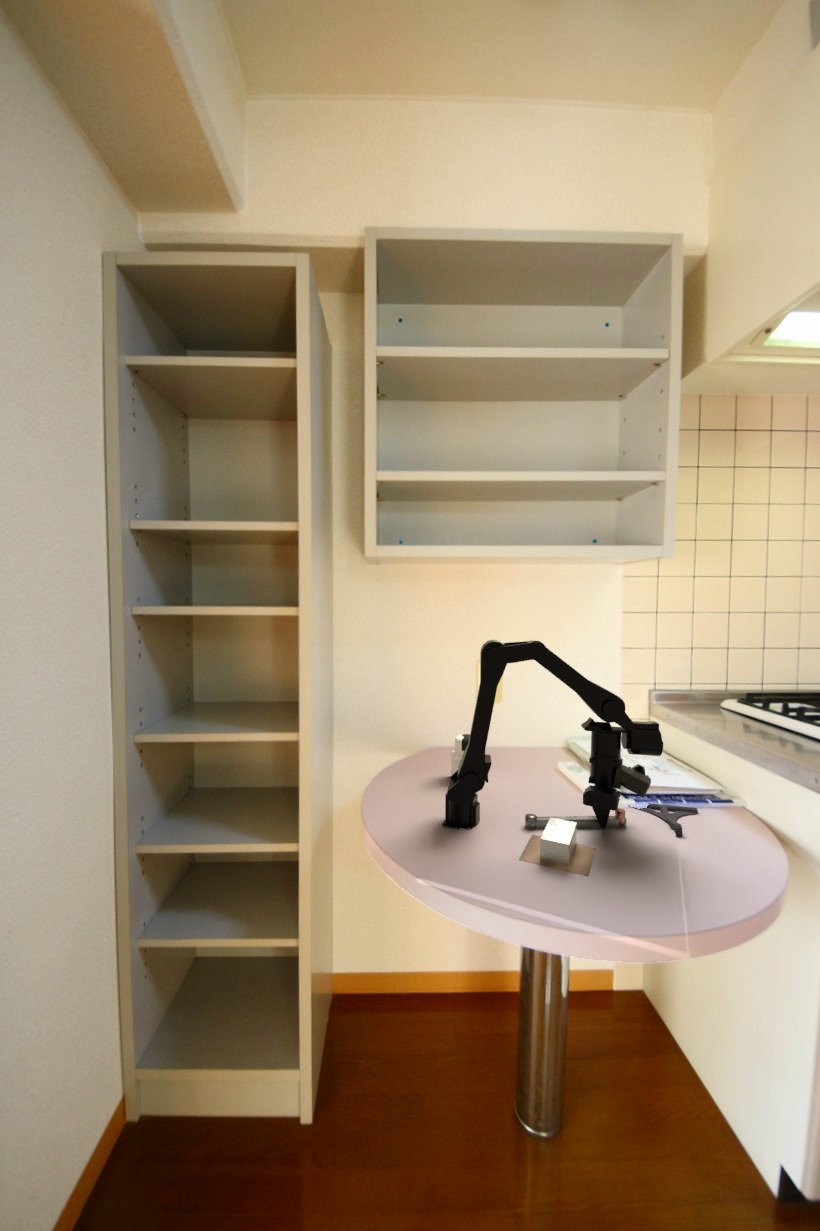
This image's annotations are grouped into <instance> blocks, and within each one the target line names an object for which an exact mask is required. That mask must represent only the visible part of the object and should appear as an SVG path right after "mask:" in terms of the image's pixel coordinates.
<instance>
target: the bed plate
mask: <svg viewBox="0 0 820 1231" xmlns="http://www.w3.org/2000/svg"><path fill="white" fill-rule="evenodd" d="M541 836H542V835H541ZM541 836H540V835H536V834H531V836H530V838H529V840H528V841H527V843H526V845H525V847H524V849H523V850H522V852H521V854H520V856H519V858H518V860H519V861H521V862H522V861H523V862H527V863H530V864H535V865H538V866H543V867H548V868H551V869H556V870H560V871H564V872H567V873H573V874H577V875H581V876H584V877H589V875H590V871H591V868H592V862H593V860H594V857H595V856H594V855H595V851H596V847H592V846H587V845H585V844H584V845H583V844H579V843H576V846H575V849H574V852H573V855H572V858H571V861H570V864H569V867H566V866H562V865H558V864H554V863H549V862H545V861H541V860H540V838H541Z"/></svg>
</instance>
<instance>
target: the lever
mask: <svg viewBox="0 0 820 1231" xmlns="http://www.w3.org/2000/svg"><path fill="white" fill-rule="evenodd" d="M524 815H525V816H524V820H525V822H524V826H525V828H526V829H528V830H536V829H545V828H546V826H547V824H548V822H549V820H550V817H551V818H557V819H562V820H567V821H572V822H577V829H589V828H590V829H591V828H592V829H593V828H595V829H596V828H601V827H600V825H599V823H598V820H597V818H596V815H579V816H578V815H577V816H576V815H575V816H574V815H570V816H569V815H568V816H567V815H566V816H563V815H562V816H537V815H536V814H535V813H526V814H524ZM606 828H627V818H626V810H625V809H623V808H619V807H618V809H617V810H615V811H614V815H609V818H608V822H607V826H606ZM601 829H602V828H601Z"/></svg>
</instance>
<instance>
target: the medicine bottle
mask: <svg viewBox="0 0 820 1231" xmlns="http://www.w3.org/2000/svg"><path fill="white" fill-rule="evenodd" d="M469 738H470V733H469V734H467V733H464V734H463V733H462V734H461V733H460V734H458V735H456V736H455V737H454V750H451V756H450V757H451V758H450V760H451V762H450V764H451V767H450V769H451V770H450V772H451V773H450V775H451V776H452V775H453V774H454V773H455V772H456V771H457V770H458V767H459V764H460V761H461V759H462V756H463V753H464V751H465V749H466V747H467V745H468V742H469ZM451 776H450V777H451Z"/></svg>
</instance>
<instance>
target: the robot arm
mask: <svg viewBox="0 0 820 1231" xmlns="http://www.w3.org/2000/svg"><path fill="white" fill-rule="evenodd" d="M479 655H480V658H479V659H480V663H479V664H480V665H479V666H480V672H479V673H480V674H479V675H480V676H479V677H480V678H479V679H480V680H479V681H480V682H479V684H478V691H477V697H476V703H475V708H474V712H473V718H472V723H471V728H470V733H469V735H470V738H469V742H468V745H467V747H466V749H465V751H464V753H463V756H462V759H461V761H460V764H459V767H458V770H457V771H456V772H455V773H454V774H453V775H452V776H449V778H448V781H447V782H448V784H447V791H446V793H445V799H444V800H445V804H444V805H445V806H444V807H445V809H444V810H445V815H444V816H445V817H444V820H443V821H442V822H441V823H442V824H441V825H442V826H443V827H448V828H453V829H457V830H460V829H463V830H472V829H473V828H474V827H476V826H477V825H478V824H479V822H480V821H481V820H480V819H481V803H480V802H479V801H478V800H479V799H478V798H479V797H478V795H479V794H477V793H478V792H480V791H482V790H483V788H484V787H485V783H489V772H490V770H491V768H492V757H491V754H486V747H487V741H488V737H489V732H490V726H491V722H492V716H493V711H494V706H495V700H496V696H497V691H498V690H497V689H498V687H499V684H500V681H501V680H502V677H503V675H504V672H505V670H506V667H507V665H508V664H514V663H515V664H516V663H520V662H526V661H534V662H537V663H538V664H539V665H540V666H542V667H543V668H544V669H545V670H547V671H548V672H549V673H551V674H552V675H553V676H554V677H556V678H557V679H558V680H560V682H562V683H563V684H564V685H566V686H567V687H568V688H570V689H571V690H572V691H574V692H575V694H576V695H578V697H579V698H580V699H581V700H582V701H583V703H584V704H585V705H586V706H587V707H588V708H589V710H591V712H593V713H594V714H595V715H596V716H597V717H598V718H599V719H600V720H602V721H595V720H594V719H593V718H592V717H588V718H587V720H586V721H585V722H582V723H581V724H580V726H581V728H583V729H584V730H585V732H591V734H590V735H591V736H590V756H589V758H588V760H589V762H588V763H589V764H590V767H589V768H590V769H589V777H588V784H589V785H588V786H587V787H586V788H584V792H583V794H582V804H583V805H584V806H587V807H591V808H592V810H593V812H594V816H596V818H597V820H598V823H599V825H600V827H601V829H604V830H605V829H607V827H606V826H607V822H608V818H609V816H610V814H611V811H614V812H615V810H617V809H618V808H619V804H620V803H619V802H620V798H621V794H622V792H621V791H619V790H621V787H622V788H624V789H626V790H628V791H630V792H633V793H634V794H636V796H638V797H640V798H645V797H646V794H647V793H648V790H649V789H650V786H651V783H652V779H651V777H650V776H649V775H647V774H646V769H645V766H643V765H641V764H639V763H637V764H636V765H634V766H632V767H631V766H626V765H624V762H623V761H624V758H622V756H621V751H622V750H621V749H624V750H626V751H627V753H628V754H629V755H636V756H652V757H653V756H654V757H660V756H661V755H662V753H663V751H664V741H663V736H662V733H661V731H660V724H659V723H658V722H656V721H653V720H649V721H637V720H636V721H635V720H632V719H631V717H629V715H628V714H627V713H626V704H625V702H624V700H623V698H621V697H620V696H618V695H617V694H615V693H614V692H611V690H609V689H606V688H604V687H603V686H601V685H599V684H597V683H595V682H593V681H591V680H589V679H588V678H586V677H585V676H584V675H583V674H581V673H580V672H579V671H577V670H576V669H574V667H572V666H571V665H570V664H568V663H567V662H566V661H564V660H563V659H562V658H561V657H559V656H558V655H557V654H555V653H554V652H553V651H552V650H550V649H549V648H548V647H547V646H546V645H545V644H544V643H543V642H542V641H540V640H538V639H530V640H526V641H525V640H523V641H513V642H512V641H510V642H502V641H501V640H498V639H489V640H487V641H486V642H484V643H483V644H482V645H481V648H480V654H479ZM611 723H615V724H617V725H618V726H614V725H613V726H612V724H611ZM621 746H622V748H621ZM591 784H592V785H591ZM617 789H618V790H617Z"/></svg>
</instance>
